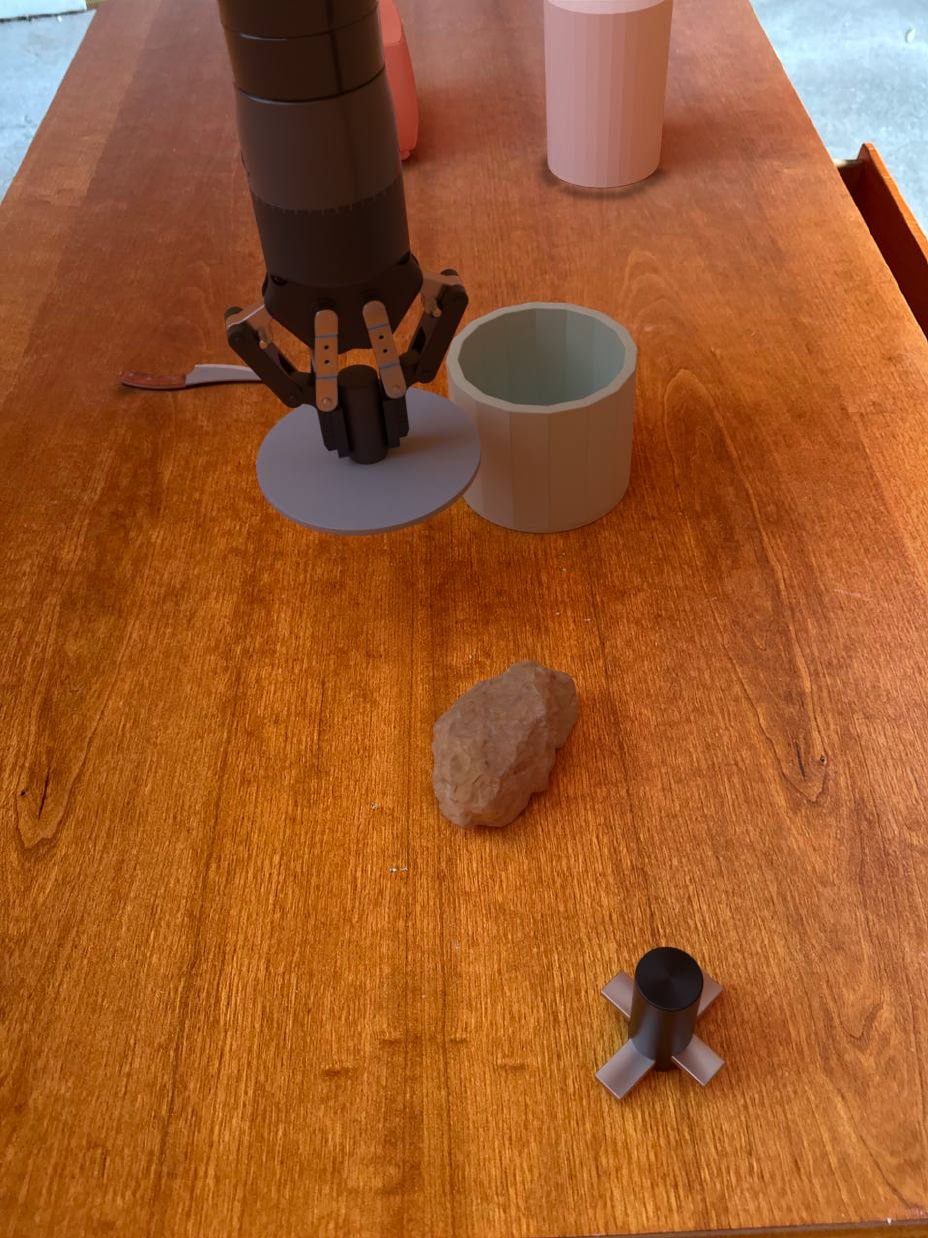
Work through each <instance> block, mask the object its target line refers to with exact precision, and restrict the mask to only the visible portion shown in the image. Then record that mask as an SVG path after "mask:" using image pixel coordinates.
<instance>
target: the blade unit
mask: <svg viewBox="0 0 928 1238" xmlns="http://www.w3.org/2000/svg"><path fill="white" fill-rule="evenodd" d="M724 991H725V988H724V987H723V986H722V985H721V984H720V983H719V982H717V981H716V980H715V979H714V978H712V977H711V976H710V975H709V974H707V972H705V971H704V970H703V969H702V968H701V966H700V965H699V963H698V961H697V960H695V958H694V957H693V956H692V955H690V954H689V953H688V952H687V951H684V950H683V949H681V948H677V947H673V946H659V947H655V948H653V949H651V950H649V951H647V952H645V954H643V955H642V956H641V957H640V959H639V960H638V962H637V964H636V967H635V969H634V977H633V978H632V977H631V976H630V975H629V974H628V973H627V972H626V971H624V970H623V969H620V971H618V972H617V973H616V974H615V975H614V977H612V978H611V979H610V980H609V981H608V982H607V983H606V984H605V985H604V987H602V988H601V989H600V990H599V995H600V997H601V998H603V999H604V1000H605V1002H607V1003H608V1004H609V1005H610V1006H611V1007H612V1008H614V1009H615V1010H616V1011H617V1012H618V1013H619V1014H620V1015H621V1016H622V1017H623V1018H625V1020H626V1021H627V1022H628V1033H627V1040H626V1041H625V1042H624V1043H623V1045H622V1046H620V1048H619V1049H617V1051H616V1052H615V1053H613V1055H612V1056H611V1057H610V1058H609V1059H607V1061H606V1062H605V1063H603V1065H602V1066H601V1067H599V1069H598V1070H597V1071H596V1073H594V1076H593V1078H594V1080H595V1081H596V1082H597V1083H598V1084H599V1085H600V1086H601V1087H602V1088H603V1089H604V1090H605V1091H606V1092H607V1093H608V1094H609V1095H610V1096H612V1098H613V1099H614V1100H615V1101H616V1102H617V1103H621V1102H622V1101H623V1100H625V1098H626V1097H627V1096H628V1095H629V1094H630V1093H631V1092H632V1091H633V1089H635V1087H636V1086H637V1085H638V1084H640V1082H641V1081H642V1080H643V1079H644V1078H645V1077H646V1076H647V1075H648V1074H649V1072H651V1070H652V1071H655V1072H669V1071H672V1070H675V1069H677V1068H679V1069H680V1070H681V1071H682V1073H684V1074H685V1075H686V1076H687V1077H688V1078H689V1079H690V1080H692V1081H693V1082H694V1083H695V1084H696V1085H697V1086H698V1087H699V1088H700V1089H701V1090H705V1089H706V1088H707V1087H708V1085H710V1084H711V1082H713V1080H714V1079H715V1078H716V1077H717V1076H718V1074H719V1073H720V1072H721V1071H722V1070H723V1069H724V1068H725V1067H726V1061H725V1060H724V1058H722V1057H721V1056H720V1055H719V1054H718V1053H716V1052H715V1051H714V1050H713V1049H712V1048H711V1047H710V1046H708V1044H707V1043H705V1042H704V1041H703V1040H702V1039H701V1038H699V1036H698V1035H696V1034H695V1033H694V1032H695V1028H696V1024H697V1022H698V1020H699V1019H700V1018H701V1017H702V1016H703V1015H704V1014H705V1013H706V1012H707V1010H708V1009H710V1008H711V1007H712V1005H713V1004H714V1003H715V1002H716V1001H717V1000H718V999H719V998H720V997H721V996H722V995H723V993H724Z"/></svg>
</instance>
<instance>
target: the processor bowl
mask: <svg viewBox="0 0 928 1238" xmlns="http://www.w3.org/2000/svg"><path fill="white" fill-rule="evenodd" d="M638 348H639V347H638V345H637V344H636V342H635V341H634V339H633V337H632V336H631V334H630V332H629V330H628V328H627V327H625V326H624V325H623V324H621V323H620V322H618V321H616V320H615V319H614V318H612V317H610V316H609V315H608V314H607V313H605V312H602V311H600V310H596V309H592V308H589V307H586V306H582V305H578V304H575V303H570V302H554V301H552V302H551V301H530V302H524V303H520V304H519V303H518V304H514V305H509V306H503V307H500V308H497V309H494V310H492V311H491V312H488V313H486V314H484V315H482V316H480V317H477V318H475V319H473V320H471V321H470V322H469V323H468V324H467V325H466V326H465V327H463V329H461V331H459V333H457V335H456V336H454V337H453V339H452V341H451V343H450V346H449V349H448V354H447V357H446V360H445V367H446V376H447V377H446V378H447V389H448V400H450V401H452V402H453V403H454V404H456V405H457V406H459V407H460V408H461V409H462V410H463V411H464V412H465V413H466V414H467V415H468V416H469V417H470V418H471V420H472V421H473V422H474V424H475V426H476V428H477V430H478V432H479V436H480V440H481V452H482V456H481V464H480V467H479V470H478V473H477V475H476V477H475V479H474V481H473V483H472V484H471V486H470V487H469V488H468V490H467V491H466V492H465V493H464V494H463V495H462V496H461V497H462V498H463V499H464V501H465V502H466V504H467V506H469V508H471V509H472V511H474V512H475V513H476V514H478V515H479V517H481V518H483V519H485V520H486V521H488V522H490V523H492V524H494V525H497V526H499V527H502V528H504V529H505V528H506V529H508V530H512V531H517V532H521V533H522V532H523V533H532V534H551V533H560V532H566V531H570V530H574V529H578V528H581V527H584V526H587V525H590V524H592V523H593V522H596V521H598V520H600V519H601V518H603V517H604V516H606V515H608V514H609V513H610V512H611V511H612V510H614V509H615V507H616V506H617V505H618V504H619V503H621V501H622V499H623V497H624V496H625V495H626V493H627V490H628V487H629V484H630V478H631V467H632V454H633V453H632V452H633V437H634V436H633V435H634V434H633V433H634V417H635V402H636V385H637V370H638V369H637V367H638V354H639V353H638V352H639V349H638Z"/></svg>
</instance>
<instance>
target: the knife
mask: <svg viewBox="0 0 928 1238" xmlns="http://www.w3.org/2000/svg"><path fill="white" fill-rule="evenodd" d="M117 376H118V377H117V378H118V381H119V382H120V383H121V384H124V385H126V386H127V385H128V386H130V387H136V388H140V389H141V388H142V389H149V390H151V389H152V390H173V389H182V388H186V386H191V385H198V384H206V383H214V382H215V383H217V382H230V381H231V382H232V381H262V380H261V379H260V378H259V377H258V376H257V375H256V374H255V373H254V371H253V370H252V369H251V368H250V367H249V366H243V365H235V364H221V363H220V364H219V363H218V364H217V363H216V364H215V363H205V364H202V363H201V364H195V365H194V368H193V370H192V371H191V372H189V373H187V374H186V373H177V374H153V373H147V372H144V371H140V370H137V369H135V368H129V369H126V370H124V371H123V372H121V373H120V374H119V375H117Z"/></svg>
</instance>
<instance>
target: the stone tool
mask: <svg viewBox="0 0 928 1238" xmlns="http://www.w3.org/2000/svg"><path fill="white" fill-rule="evenodd" d="M578 709H579V702H578V694H577V688H576V683H575V681H574V678H573V677H572V676H571V675H570V674H569V673H568V672H565V671H562V670H556V669H552V668H549V667H546V666H545V665H544V664H543V663H542V662H540V661H539V659H533V658H531V659H528V660H522V661H518V662H515V663H513V664H510V665H509V667H508V668H507V669H506V670H504V671H503V673H498V674H496V675H495V676H493V677H490V678H488V679H485V680H484V679H483V680H481V681H479V682H477V683H476V684H475V685H473V686H472V687H470V688H469V689H468V690H466V691H465V692H464V693H462V694H461V695H460V696H459V697H458V698H457V699H456V700H455V701H454V702H453V703H452V705H451V707H450V708H449V709H448V710H447V711H445V712H444V713H442V714H441V715H440V717H439V718H438V719H437V720H436V721H435V722H434V724H433V726H432V733H433V740H432V743H431V752H432V754H433V757H434V758H433V759H434V761H433V763H434V765H433V766H434V767H433V771H432V773H431V782H432V789H433V791H434V792H435V797H436V799H437V801H438V808H439V810H440V812H441V813H442V815H443V817H444V818H445V819H447V820H448V821H449V822H451V823H452V824H453V825H454V826H457V827H460V828H463V829H466V830H473V829H475V827H476V826H477V825H481V826H488V827H498V828H502V827H505V826H507V825H509V824H512V823H514V821H515V820H516V819H517V817H519V815H520V814H521V813H522V812H523V811H524V810H525V809H526V808H527V806H528V803H529V801H530V800H531V799H530V798H531V796H532V794H533V793H542V792H544V791H547V790H549V789H550V783H549V774H550V772H551V771H552V769H554V766H555V765H556V763H557V756H556V749H561V748H562V747H563V746H565V745H566V744H567V740H568V737H569V736H570V735H571V733H572V730H573V728H574V725H575V724H576V723H577V722H578V719H579V714H578Z"/></svg>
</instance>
